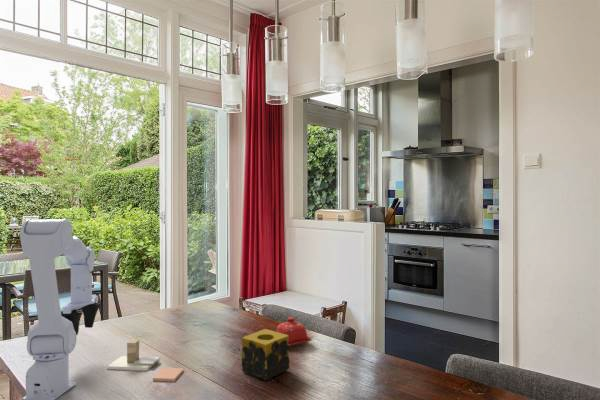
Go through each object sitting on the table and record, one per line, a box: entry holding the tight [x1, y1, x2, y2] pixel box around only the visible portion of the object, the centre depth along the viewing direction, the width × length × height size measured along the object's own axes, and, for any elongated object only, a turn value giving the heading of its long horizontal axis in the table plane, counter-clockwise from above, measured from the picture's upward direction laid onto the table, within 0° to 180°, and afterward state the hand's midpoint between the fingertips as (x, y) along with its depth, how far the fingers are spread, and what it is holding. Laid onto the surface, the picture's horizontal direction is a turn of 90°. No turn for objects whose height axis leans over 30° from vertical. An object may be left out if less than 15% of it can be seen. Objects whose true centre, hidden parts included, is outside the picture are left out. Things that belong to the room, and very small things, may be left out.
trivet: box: [106, 355, 154, 372], centre depth 123 cm, size 8×12×1 cm, turn 85°
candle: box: [241, 328, 290, 381], centre depth 119 cm, size 10×10×10 cm
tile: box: [152, 367, 185, 383], centre depth 115 cm, size 7×1×6 cm
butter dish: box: [275, 316, 313, 347], centre depth 144 cm, size 12×12×8 cm
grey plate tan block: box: [126, 339, 161, 366], centre depth 123 cm, size 5×8×6 cm, turn 85°
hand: (81, 331), depth 126 cm, fingers open, 7 cm apart
